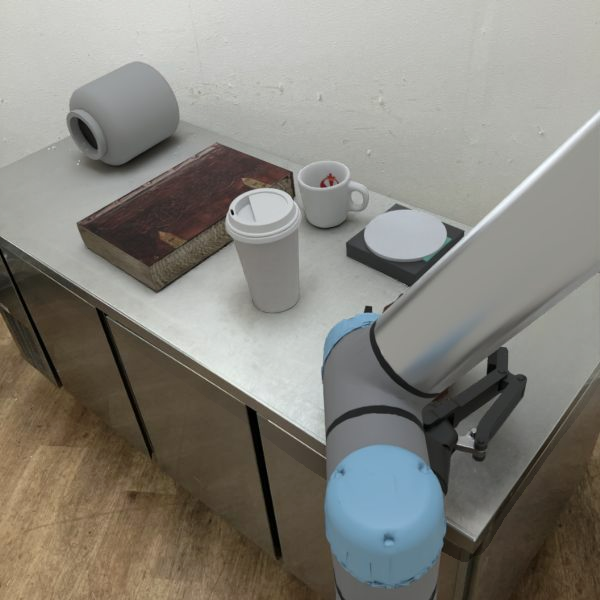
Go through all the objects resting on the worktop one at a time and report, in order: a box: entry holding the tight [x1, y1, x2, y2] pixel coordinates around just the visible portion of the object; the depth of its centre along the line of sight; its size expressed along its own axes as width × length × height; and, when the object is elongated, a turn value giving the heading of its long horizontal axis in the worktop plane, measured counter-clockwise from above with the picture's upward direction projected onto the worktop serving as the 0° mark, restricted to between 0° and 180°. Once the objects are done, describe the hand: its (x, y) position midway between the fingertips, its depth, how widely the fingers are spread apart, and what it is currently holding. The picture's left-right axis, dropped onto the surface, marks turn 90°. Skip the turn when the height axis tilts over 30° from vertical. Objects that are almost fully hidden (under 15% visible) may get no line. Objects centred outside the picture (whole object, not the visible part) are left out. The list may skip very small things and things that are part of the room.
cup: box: [296, 160, 370, 229], centre depth 98 cm, size 11×8×8 cm
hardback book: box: [76, 142, 297, 292], centre depth 102 cm, size 29×19×5 cm, turn 137°
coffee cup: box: [225, 188, 303, 314], centre depth 84 cm, size 10×10×15 cm
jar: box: [47, 60, 196, 166], centre depth 117 cm, size 19×15×25 cm
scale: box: [345, 203, 465, 287], centre depth 93 cm, size 12×12×3 cm
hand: (430, 320), depth 72 cm, fingers open, 13 cm apart
